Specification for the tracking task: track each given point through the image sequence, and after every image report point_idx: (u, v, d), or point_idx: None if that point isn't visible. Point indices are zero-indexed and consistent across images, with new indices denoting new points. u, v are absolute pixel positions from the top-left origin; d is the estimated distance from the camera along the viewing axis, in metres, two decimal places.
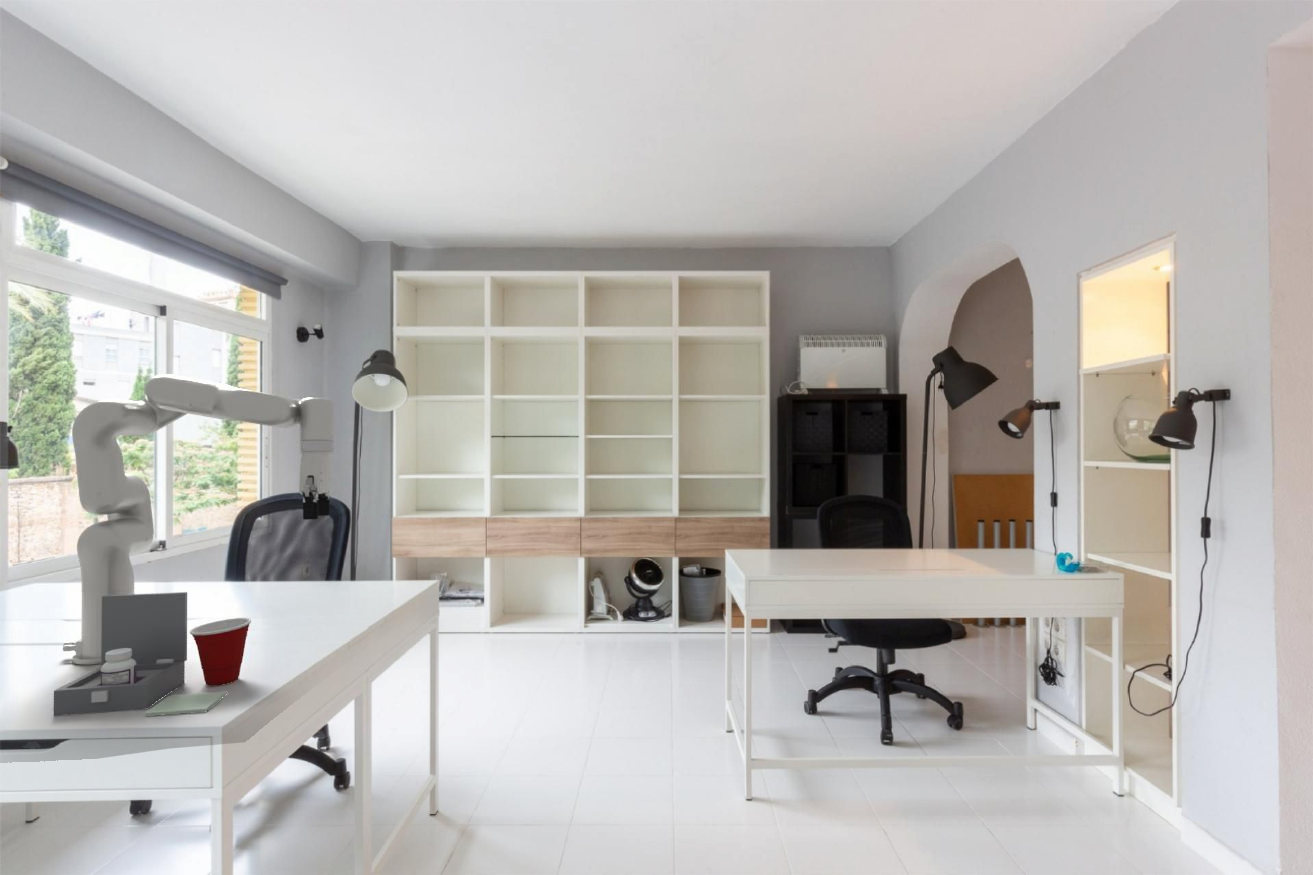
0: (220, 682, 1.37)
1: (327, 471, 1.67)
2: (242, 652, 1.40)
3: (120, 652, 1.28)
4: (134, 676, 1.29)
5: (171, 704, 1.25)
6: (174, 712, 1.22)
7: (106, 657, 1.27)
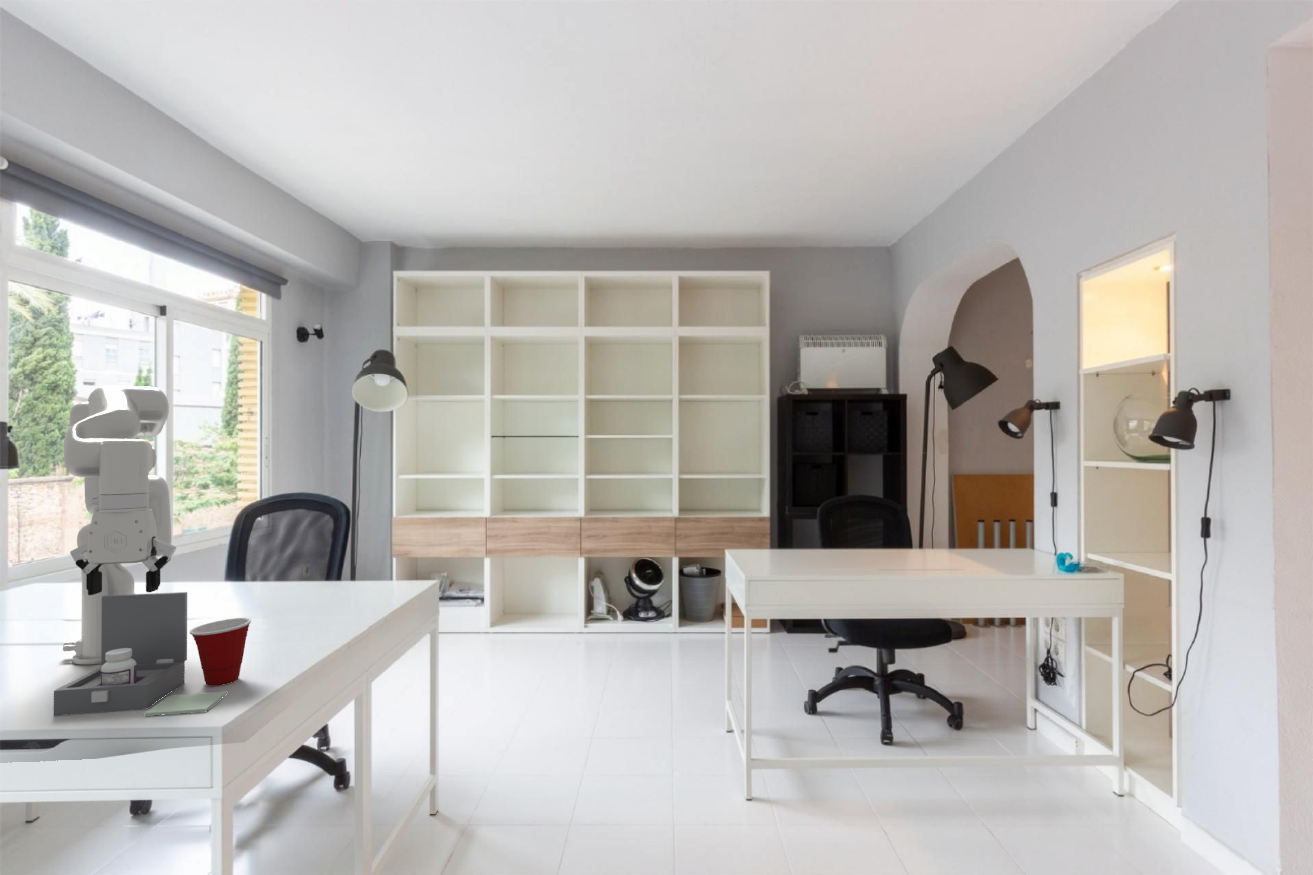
0: (220, 682, 1.37)
1: None
2: (242, 652, 1.40)
3: (120, 652, 1.28)
4: (134, 676, 1.29)
5: (171, 704, 1.25)
6: (174, 712, 1.22)
7: (106, 657, 1.27)
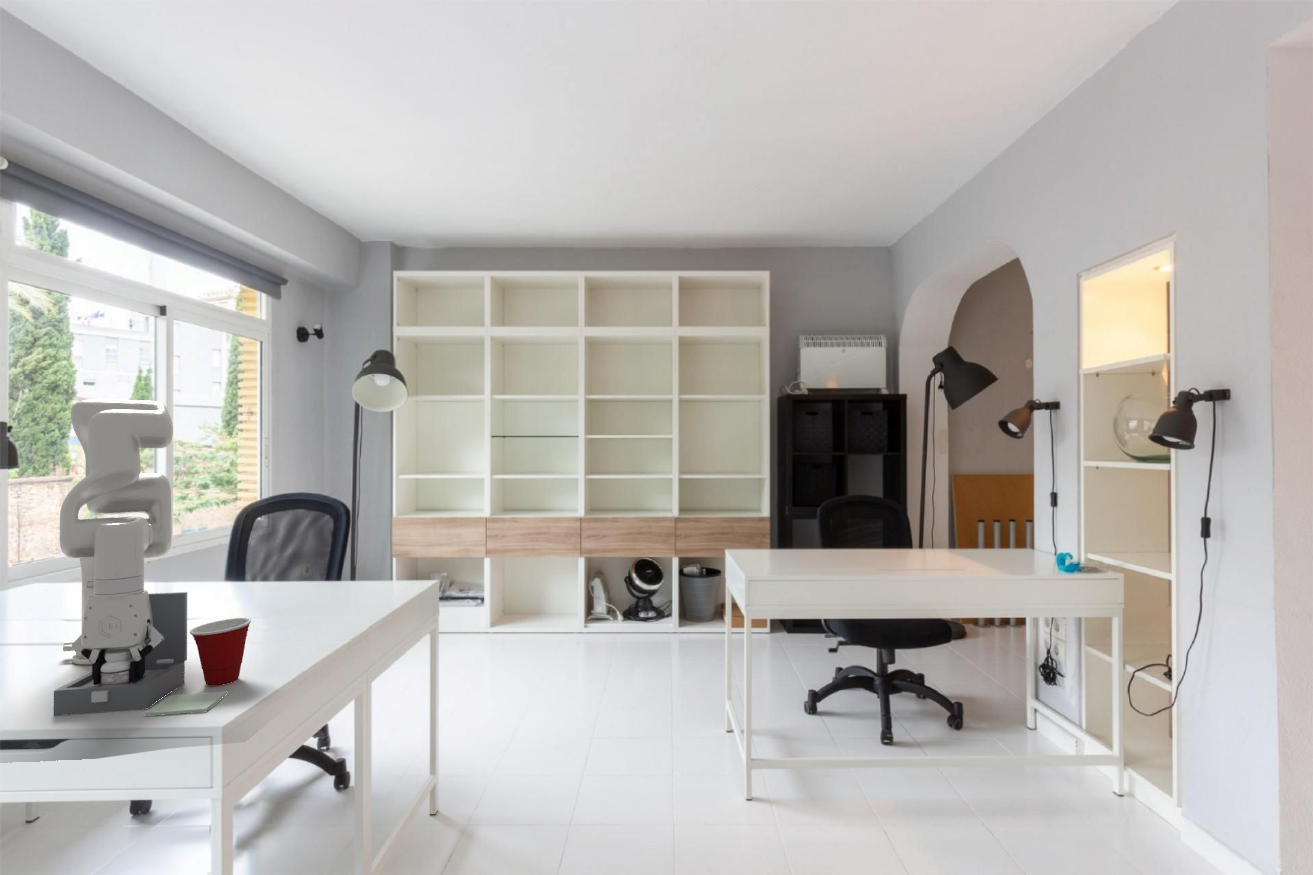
0: (220, 682, 1.37)
1: None
2: (242, 652, 1.40)
3: (120, 652, 1.28)
4: None
5: (171, 704, 1.25)
6: (174, 712, 1.22)
7: (106, 657, 1.27)
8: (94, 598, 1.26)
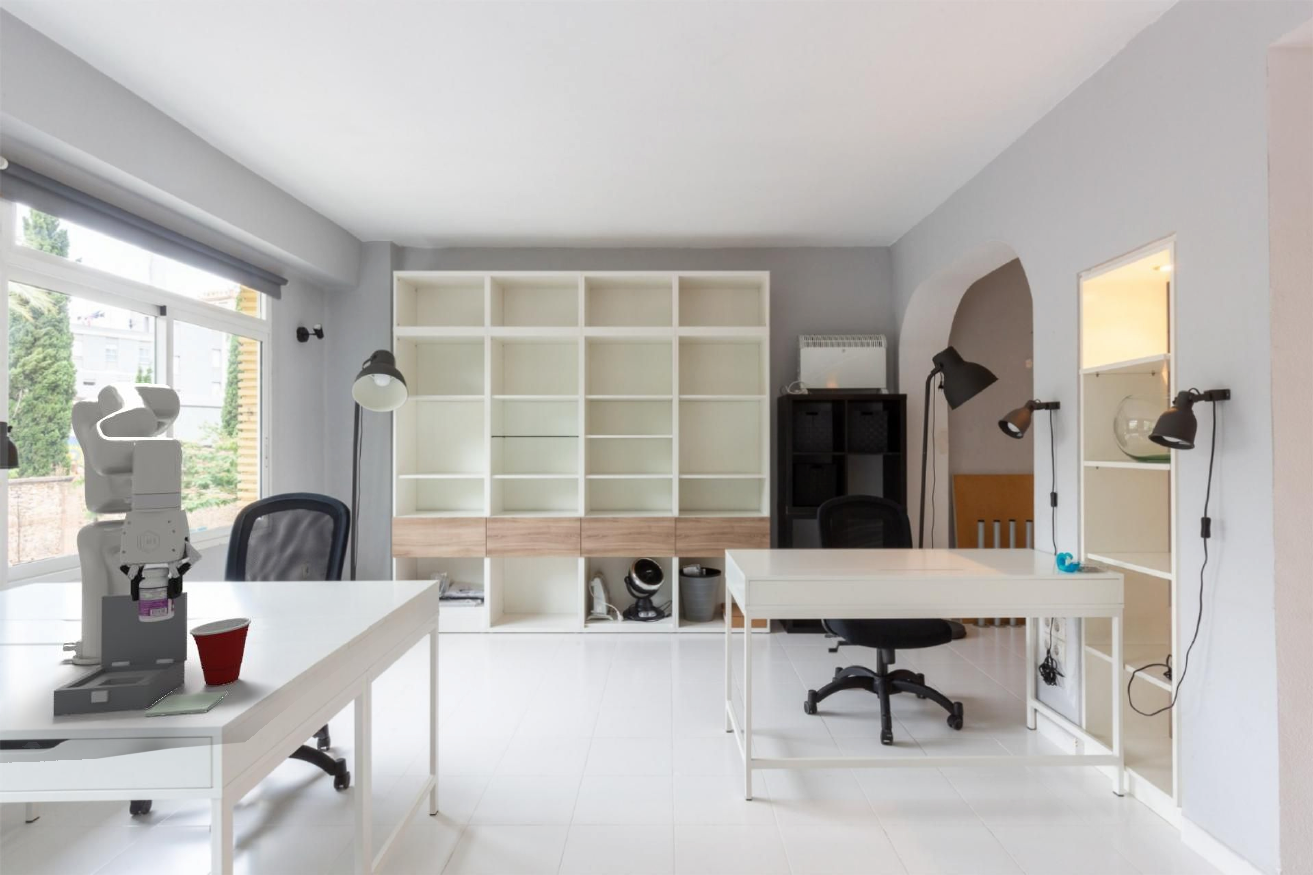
0: (220, 682, 1.37)
1: None
2: (242, 652, 1.40)
3: (158, 568, 1.27)
4: None
5: (171, 704, 1.25)
6: (174, 712, 1.22)
7: (144, 573, 1.26)
8: (132, 513, 1.25)
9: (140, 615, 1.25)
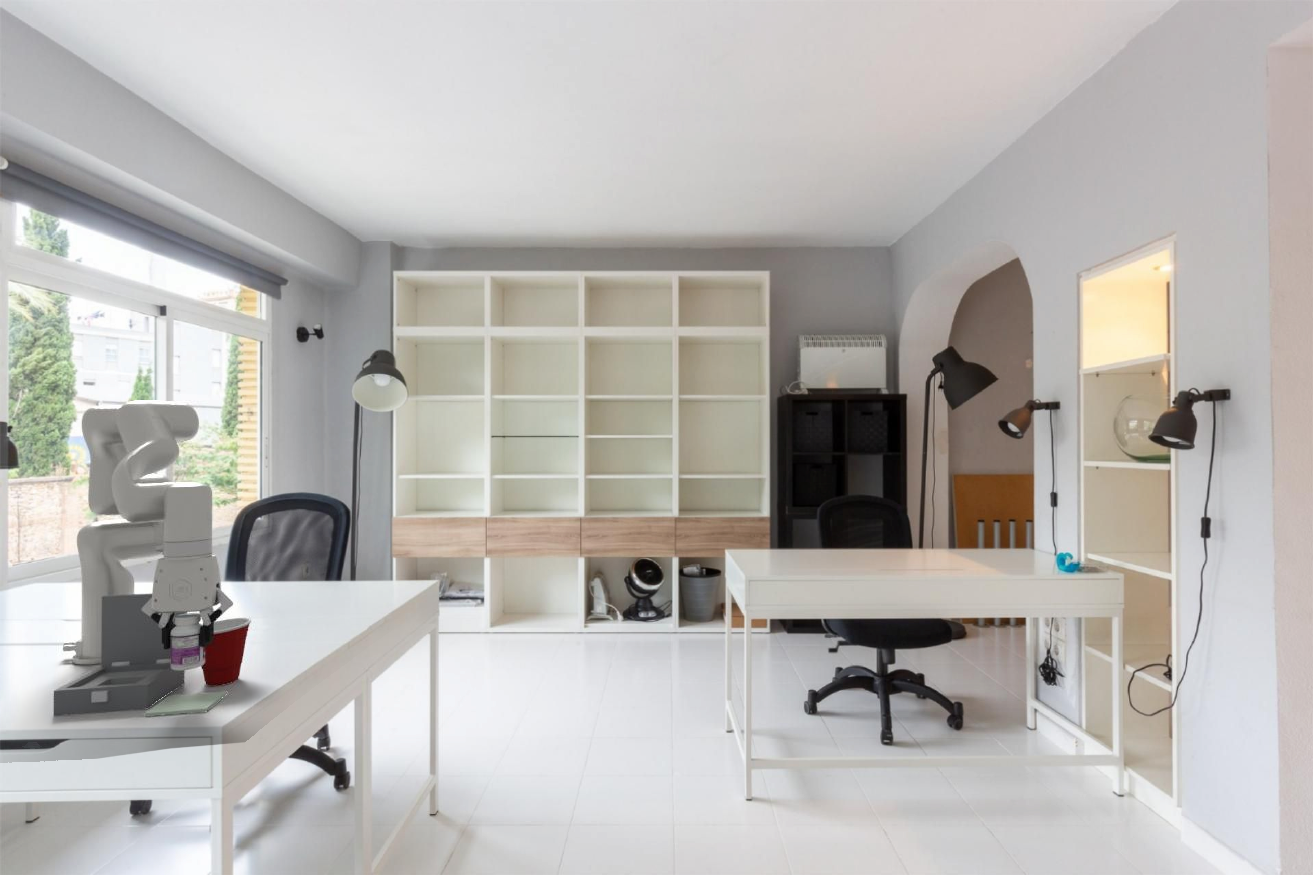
0: (220, 682, 1.37)
1: None
2: (242, 652, 1.40)
3: (190, 616, 1.26)
4: None
5: (171, 704, 1.25)
6: (174, 712, 1.22)
7: (176, 621, 1.25)
8: (164, 561, 1.24)
9: (172, 663, 1.24)
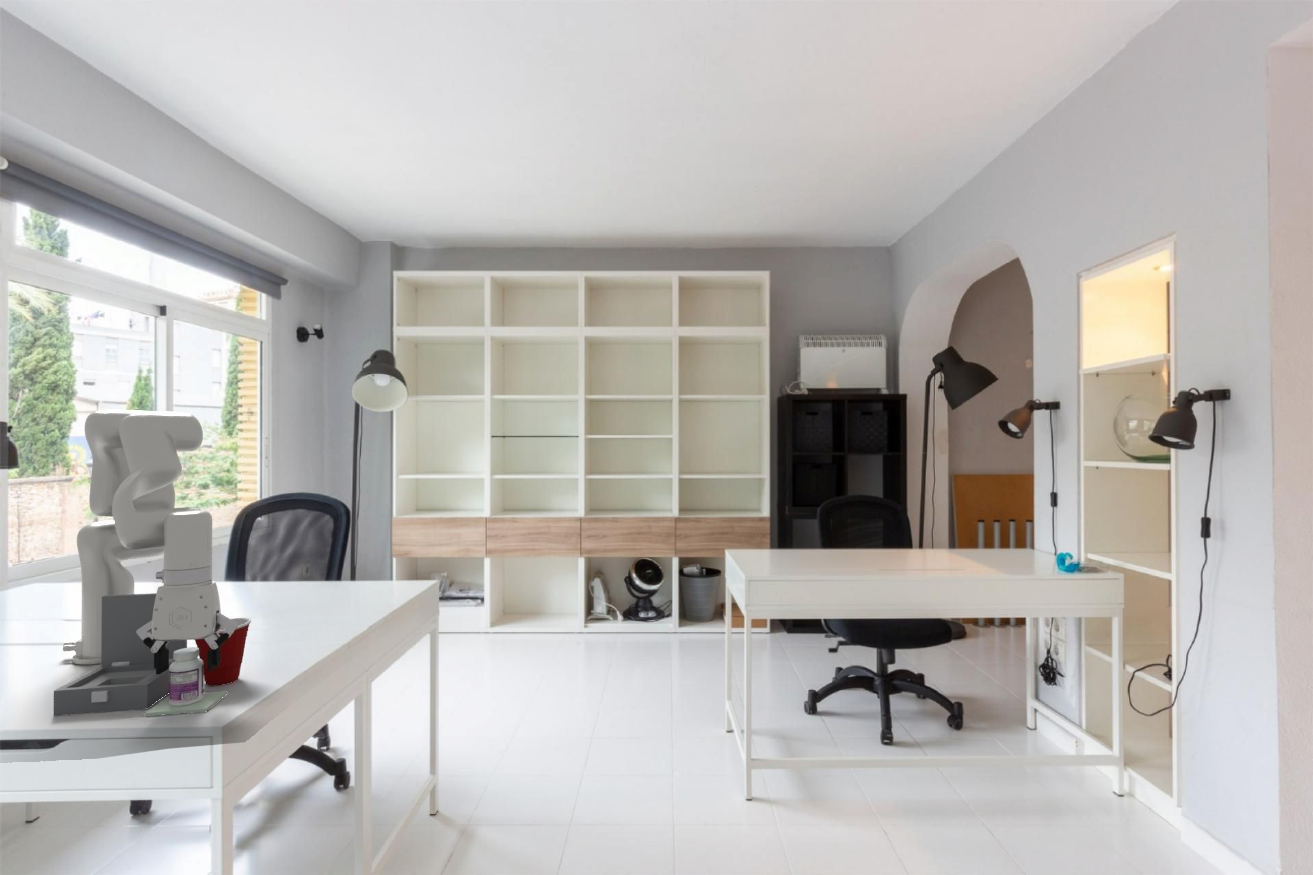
0: (220, 682, 1.37)
1: None
2: (242, 652, 1.40)
3: (188, 651, 1.26)
4: (202, 676, 1.27)
5: None
6: (174, 712, 1.22)
7: (174, 656, 1.25)
8: (164, 589, 1.24)
9: (170, 699, 1.24)
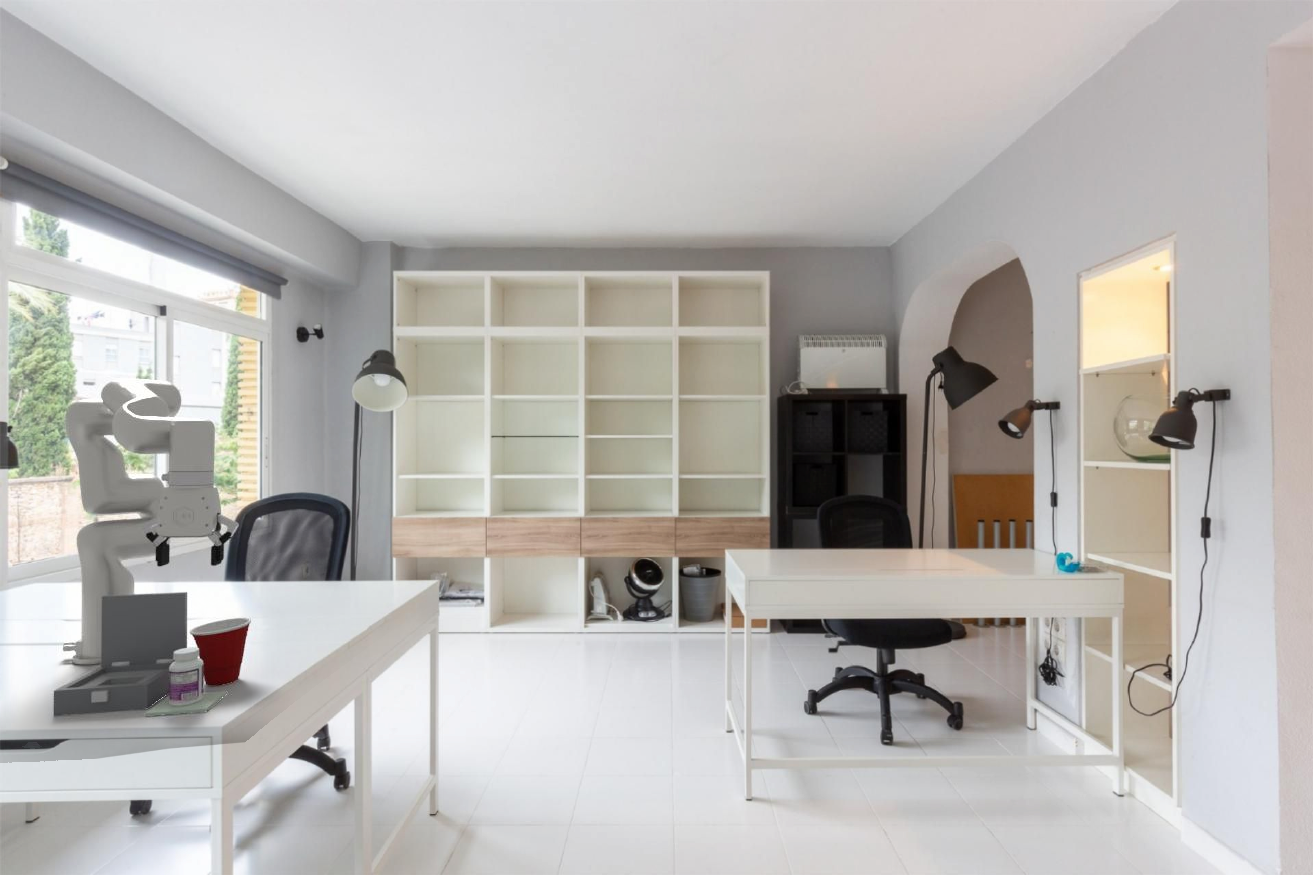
0: (220, 682, 1.37)
1: None
2: (242, 652, 1.40)
3: (188, 651, 1.26)
4: (202, 676, 1.27)
5: None
6: (174, 712, 1.22)
7: (174, 656, 1.25)
8: (169, 489, 1.33)
9: (171, 699, 1.24)
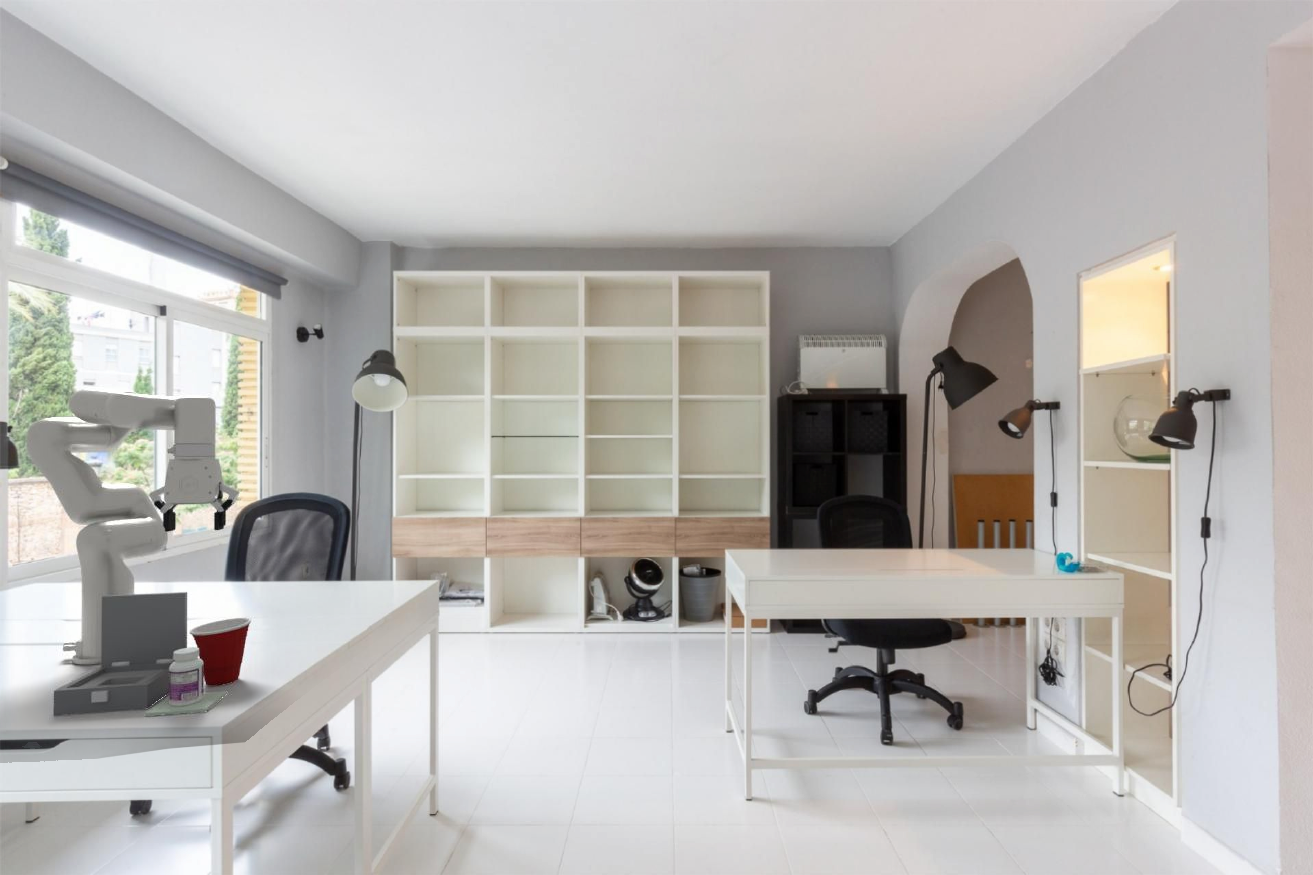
0: (220, 682, 1.37)
1: None
2: (242, 652, 1.40)
3: (188, 651, 1.26)
4: (202, 676, 1.27)
5: None
6: (174, 712, 1.22)
7: (174, 656, 1.25)
8: (175, 460, 1.46)
9: (171, 699, 1.24)
